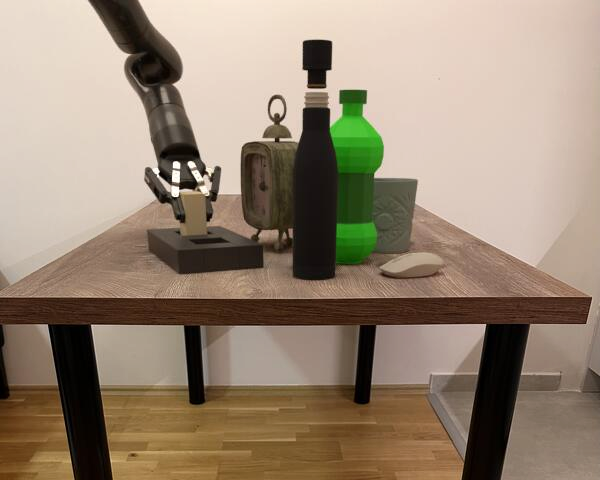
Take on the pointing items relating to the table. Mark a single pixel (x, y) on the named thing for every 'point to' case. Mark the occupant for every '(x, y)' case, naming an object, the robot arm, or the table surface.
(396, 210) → the drinking glass
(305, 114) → the black insulated flask
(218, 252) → the base
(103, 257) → the table surface
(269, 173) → the tabletop clock
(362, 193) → the plastic bottle
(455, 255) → the table surface
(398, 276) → the computer mouse
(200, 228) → the tan wooden block
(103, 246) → the table surface
